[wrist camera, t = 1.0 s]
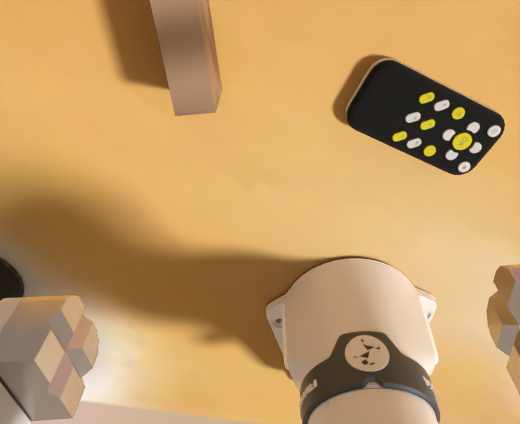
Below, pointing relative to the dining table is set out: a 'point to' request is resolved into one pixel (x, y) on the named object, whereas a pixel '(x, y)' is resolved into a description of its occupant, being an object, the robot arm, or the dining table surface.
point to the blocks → (188, 54)
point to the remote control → (423, 117)
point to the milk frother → (10, 282)
